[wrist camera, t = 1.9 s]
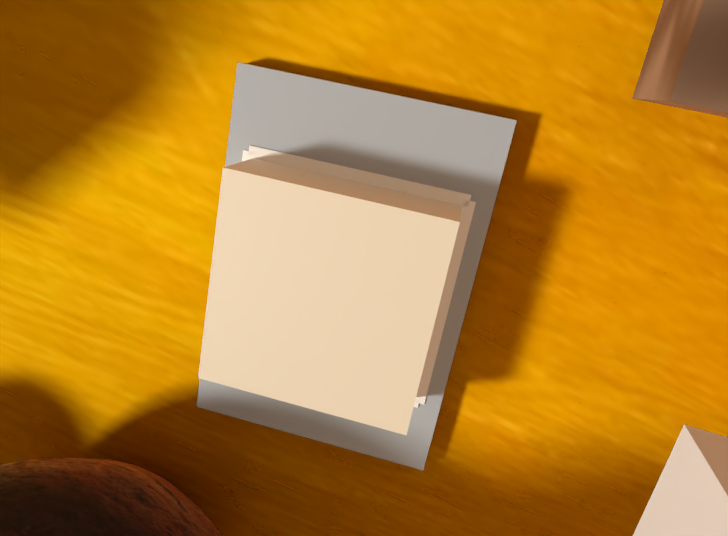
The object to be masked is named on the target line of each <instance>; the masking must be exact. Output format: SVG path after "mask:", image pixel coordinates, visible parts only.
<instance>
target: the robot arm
mask: <svg viewBox="0 0 728 536" xmlns="http://www.w3.org/2000/svg"><path fill="white" fill-rule="evenodd" d="M633 536H728V437H725V436H722V435H718V434H715V433H712V432H708V431H705V430H701V429H698V428H695V427H691V426H688V425H685V424H684V426H683V428H682V430H681V433H680V435H679V437H678V439H677V441H676V443H675V446H674V448H673V450H672V452H671V454H670V456H669V458H668V461H667V463H666V465H665V467H664V469H663V471H662V474H661V476H660V478H659V480H658V482H657V484H656V487H655V489H654V491H653V493H652V495H651V497H650V499H649V502H648V504H647V506H646V508H645V510H644V512H643V515H642V517H641V519H640V521H639V523H638V525H637V528H636V530H635V532H634V534H633Z"/></svg>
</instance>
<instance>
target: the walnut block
mask: <svg viewBox="0 0 728 536" xmlns="http://www.w3.org/2000/svg"><path fill="white" fill-rule="evenodd" d="M633 99H638V100H643V101H648V102H653V103H658V104H663V105H668V106H673V107H678V108H683V109H688V110H693V111H698V112H703V113H708V114H713V115H718V116H723V117H728V0H664V2H663V5H662V8H661V11H660V14H659V18H658V21H657V24H656V27H655V30H654V33H653V36H652V39H651V42H650V45H649V48H648V52H647V55H646V58H645V61H644V64H643V67H642V70H641V73H640V76H639V79H638V82H637V86H636V89H635V92H634V95H633Z"/></svg>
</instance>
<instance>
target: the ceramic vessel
mask: <svg viewBox="0 0 728 536" xmlns="http://www.w3.org/2000/svg"><path fill="white" fill-rule="evenodd" d="M0 536H222V535H221V533H220V532H219V530H218V529H217V528H216V527H215V525H214V524H213V523H212V521H211V520H210V519H209V518H208V517H207V516H206V515H205V513H204V512H203V511H202V510H201V509H200V508H199V507H198V506H197V505H195V504H194V503H193V502H192V501H191V500H190V499H189V498H188V497H187V496H185V495H184V494H183V493H182V492H180V491H179V490H178V489H177V488H176V487H175V486H174V485H172V484H171V483H169V482H168V481H166V480H165V479H164V478H162V477H161V476H159V475H157V474H155V473H153V472H151V471H149V470H147V469H144V468H142V467H139V466H137V465H134V464H130V463H126V462H122V461H117V460H110V459H101V458H59V457H47V458H38V459H28V460H22V461H16V462H10V463H6V464H2V465H0Z"/></svg>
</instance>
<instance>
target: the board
mask: <svg viewBox="0 0 728 536" xmlns="http://www.w3.org/2000/svg"><path fill="white" fill-rule="evenodd" d="M516 122H517V120H516V119H512V118H507V117H502V116H497V115H492V114H488V113H483V112H478V111H473V110H468V109H464V108H459V107H454V106H449V105H444V104H440V103H435V102H430V101H425V100H420V99H416V98H411V97H406V96H401V95H396V94H392V93H387V92H382V91H377V90H372V89H368V88H363V87H358V86H353V85H348V84H344V83H339V82H334V81H329V80H324V79H320V78H315V77H310V76H305V75H300V74H296V73H291V72H286V71H281V70H276V69H271V68H267V67H262V66H257V65H252V64H247V63H239V62H238V63H237V71H236V80H235V88H234V96H233V105H232V113H231V122H230V130H229V138H228V147H227V155H226V163H225V167H223V172H222V180H221V188H220V197H219V205H218V214H217V222H216V231H215V239H214V248H213V256H212V264H211V273H210V281H209V290H208V298H207V307H206V315H205V324H204V332H203V341H202V349H201V357H200V366H199V374H198V378H200V381H199V390H198V398H197V406H196V407H199V408H202V409H206V410H209V411H213V412H217V413H220V414H224V415H227V416H231V417H234V418H238V419H241V420H245V421H249V422H252V423H256V424H259V425H263V426H266V427H270V428H273V429H277V430H280V431H284V432H288V433H291V434H295V435H298V436H302V437H305V438H309V439H312V440H316V441H320V442H323V443H327V444H330V445H334V446H337V447H341V448H344V449H348V450H352V451H355V452H359V453H362V454H366V455H369V456H373V457H376V458H380V459H384V460H387V461H391V462H394V463H398V464H401V465H405V466H408V467H412V468H415V469H419V470H424V467H425V463H426V459H427V455H428V452H429V448H430V444H431V440H432V437H433V433H434V429H435V425H436V422H437V418H438V414H439V410H440V407H441V403H442V399H443V395H444V392H445V388H446V384H447V380H448V377H449V373H450V369H451V365H452V362H453V358H454V354H455V350H456V347H457V343H458V339H459V335H460V332H461V328H462V324H463V320H464V317H465V313H466V309H467V306H468V302H469V298H470V294H471V291H472V287H473V283H474V279H475V276H476V272H477V268H478V264H479V261H480V257H481V253H482V249H483V246H484V242H485V238H486V234H487V231H488V227H489V223H490V219H491V216H492V212H493V208H494V204H495V201H496V197H497V193H498V189H499V186H500V182H501V178H502V174H503V171H504V167H505V163H506V159H507V156H508V152H509V148H510V144H511V141H512V137H513V133H514V129H515V126H516Z"/></svg>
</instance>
